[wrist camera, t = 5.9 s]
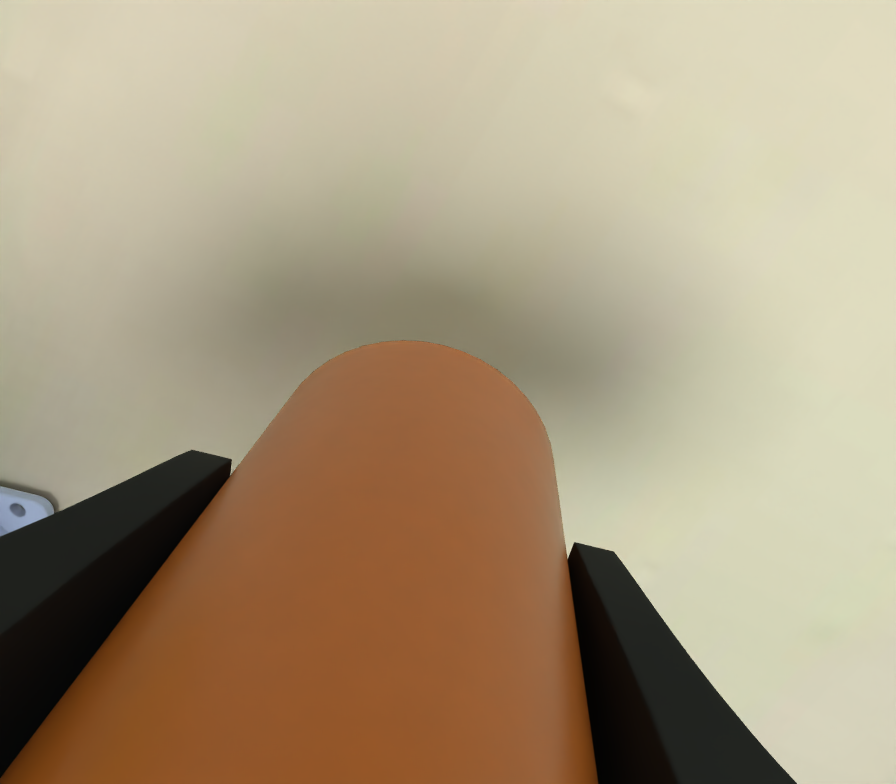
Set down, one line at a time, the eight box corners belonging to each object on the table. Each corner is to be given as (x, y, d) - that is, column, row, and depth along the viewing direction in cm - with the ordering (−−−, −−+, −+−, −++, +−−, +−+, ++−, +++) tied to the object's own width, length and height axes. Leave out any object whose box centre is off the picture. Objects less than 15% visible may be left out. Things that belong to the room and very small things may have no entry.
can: (261, 549, 13) (-89, 1171, 5) (293, 306, 11) (-210, 761, 3) (511, 609, 13) (519, 1307, 5) (592, 379, 11) (791, 994, 3)
